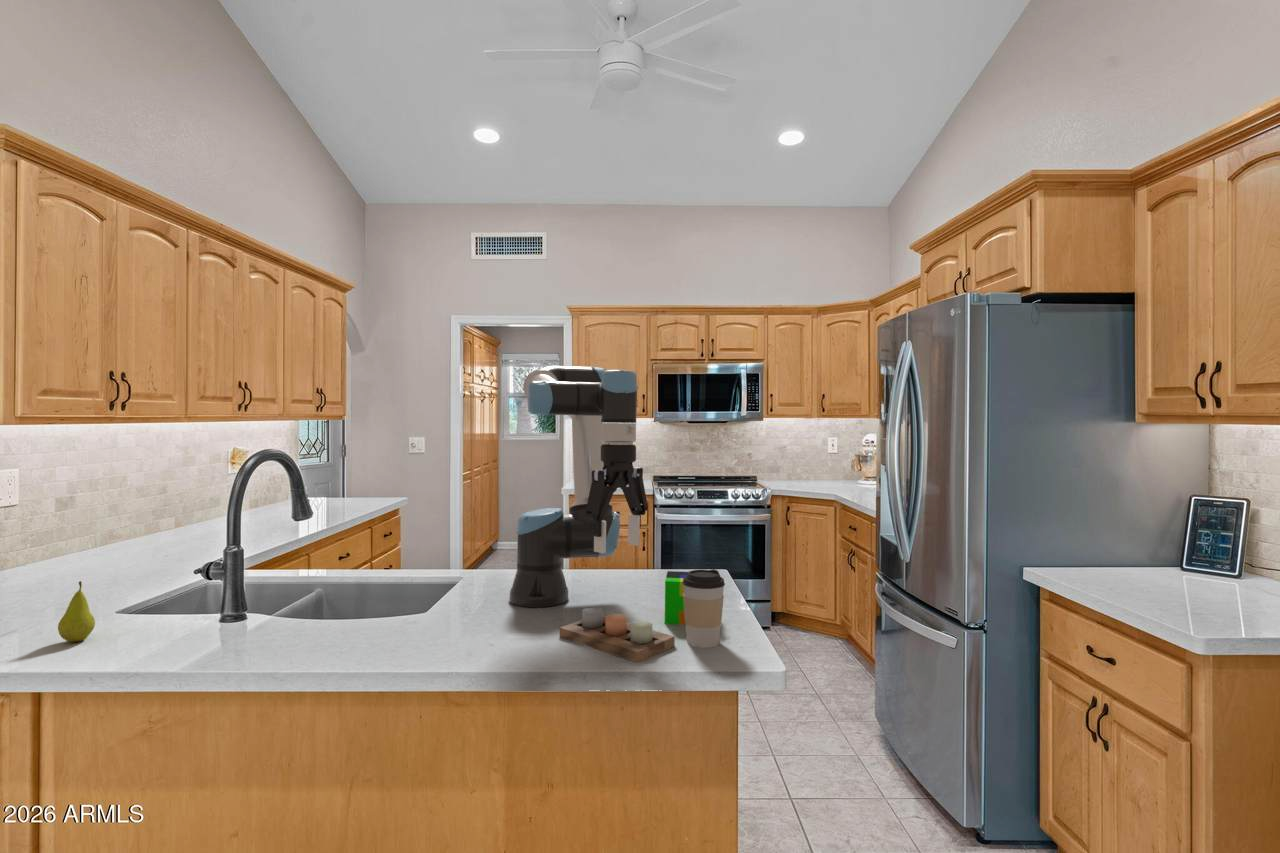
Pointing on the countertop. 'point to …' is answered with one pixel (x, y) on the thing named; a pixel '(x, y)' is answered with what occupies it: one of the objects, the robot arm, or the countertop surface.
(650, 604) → the countertop surface
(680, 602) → the puzzle toy
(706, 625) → the coffee cup
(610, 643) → the button board
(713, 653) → the countertop surface
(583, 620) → the button grey
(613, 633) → the button terracotta
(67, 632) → the fruit
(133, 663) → the countertop surface
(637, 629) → the button sage
